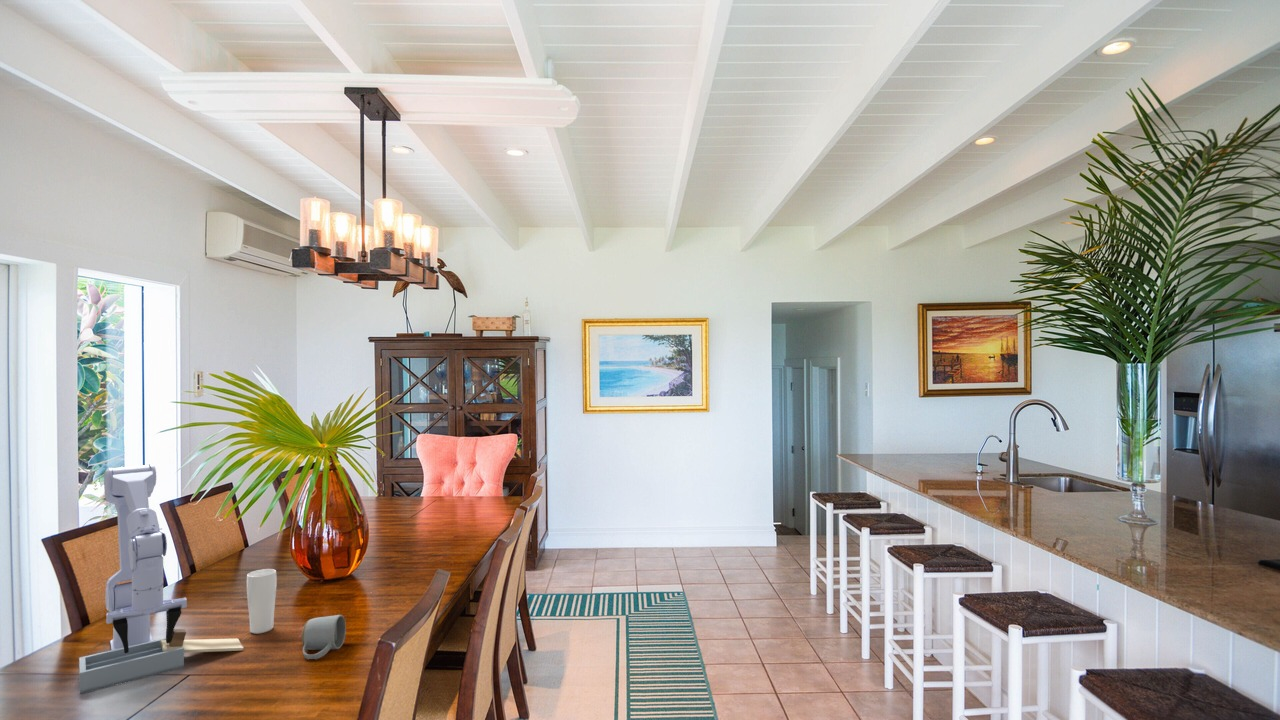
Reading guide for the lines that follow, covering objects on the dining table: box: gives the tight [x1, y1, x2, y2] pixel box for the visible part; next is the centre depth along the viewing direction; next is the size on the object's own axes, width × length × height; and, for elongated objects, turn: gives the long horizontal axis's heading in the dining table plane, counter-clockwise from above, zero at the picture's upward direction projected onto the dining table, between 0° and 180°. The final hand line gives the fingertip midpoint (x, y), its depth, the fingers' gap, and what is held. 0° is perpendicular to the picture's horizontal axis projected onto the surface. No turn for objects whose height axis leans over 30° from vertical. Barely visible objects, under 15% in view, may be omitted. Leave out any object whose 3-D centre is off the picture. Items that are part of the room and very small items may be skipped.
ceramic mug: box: [301, 614, 347, 660], centre depth 156 cm, size 11×8×8 cm
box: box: [78, 637, 185, 695], centre depth 145 cm, size 10×18×4 cm, turn 131°
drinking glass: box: [246, 568, 278, 635], centre depth 169 cm, size 7×7×15 cm
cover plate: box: [160, 628, 244, 654], centre depth 154 cm, size 7×16×4 cm, turn 131°
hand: (147, 646), depth 147 cm, fingers open, 7 cm apart
